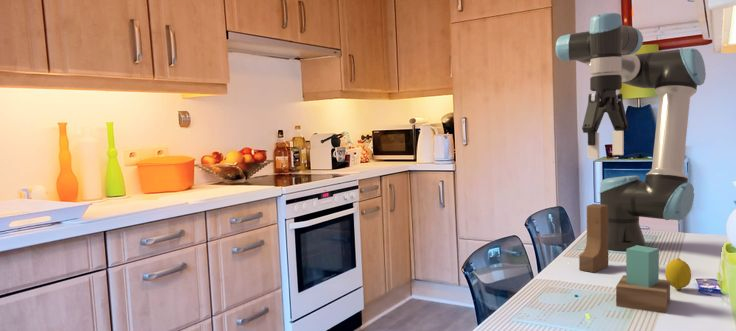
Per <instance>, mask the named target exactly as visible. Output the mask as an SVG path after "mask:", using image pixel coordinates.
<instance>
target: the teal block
mask: <svg viewBox="0 0 736 331" xmlns="http://www.w3.org/2000/svg"><path fill="white" fill-rule="evenodd" d="M625 258H626V259H625V260H626V264H625V265H626V266H625V267H626V268H625V269H626V274H625V275H626V283H630V284H634V285H639V286H643V287H651V286H653V285H655V284H657V283H659V274H660V273H659V271H660V269H659V268H660V265H659V264H660V262H659V261H660V249H659V248H657V247H656V248H655V247H650V246H646V245H645V246H639V245H636V246H633V247H631V248H628V249H627V251H626V257H625Z"/></svg>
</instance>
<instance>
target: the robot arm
mask: <svg viewBox="0 0 736 331" xmlns="http://www.w3.org/2000/svg"><path fill="white" fill-rule="evenodd" d="M643 43H644V37H643V34H642V32H641V31H640V30H639V29H637V28H636V27H633V26H631V25H623V20H622V15H621V13H618V12H617V13H616V12H609V13H607V12H605V13H601V14H595V15H594V16H592V17H591V18H590V21H589V30H587V31H581V32H575V33H569V34H565V35H560V36H559V37H558V38H557V40H556V42H555V54H556V57H557V58H558V59H559V60H560V61H562V62H571V61H577V62H579V63H582V64H585V65H587V66H589V67H588V68H590V71H589V72H590V75H592V76H591V77H590V78H589V80H590V82H589V90H590V91H591V92H595V93H589V94H588V98H587V99H588V100H587V101H588V102H587V106H586V110H585V115H584V120H583V123H582V128H581V130H582V133H585V134H587V137H586V138H587V159H592V160H594V159H597V160H598V159H600V132H598V130H599V128H600V125H601V124H602V120H603V117H604V115H605V113H607V115H608V118H609V120H610V123H611V125H612V128H613V130H612V135H611V136H612V139H611V140H612V143H611V144H612V146H611V148H612V154H611V155H612V156H624V153H625V152H624V149H625V147H624V146H625V145H624V144H625V142H624V141H625V140H624V138H625V136H624V134H625V133H624V131H628V130H629V124H628V119H627V115H626V111H625V106H624V101H623V93H616V92H617V91H619V90H621V89H622V87H623V84H624V85H628V86H632V87H636V88H640V89H654V92H655V93H656V95H657V96H658V105H657V106H658V107H657V116H656V124H655V125H656V126H655V135H654V144H653V152H652V155H653V156H652V164H651V169H650V170H649V172H647V173H645V180H640V176H639V175H624V176H614V177H607V178H604V179H602V180H601V182H600V190H599V199H600V201H599V204H602V205H608V250H609V249H610V250H609V251H619V252H620V251H623V252H625V251H626V252H627V249H628V248H631V247H633V246H636V245H639V246H645V247H646V240H645V236H644V234H643V231H642V228H641V226H640V218H649V219H659V220H665V221H670V220H671V221H674V220H675V221H682V220H683V219H686V217H687V216H688V214H690V212H691V210H692V206H693V204H694V198H695V193H694V191H695V188H694V185H693V184H692V183H690V182H689V181H688V180H689V178H688V176H687V175H686V174H685V173H684V164H685V162H684V161H685V156H686V155H685V154H686V144H687V143H686V142H687V136H688V134H687V133H688V125H689V114H690V113H689V112H690V102H691V98H692V96H693V95H695V94H696V93H697V89H698V86H701V85H703V84H704V83H705V81H706V65H705V61H704V58H703V55H702V53H701V52H700V50H698V49H697V48H694V47H693V48H692V47H689V48H678V49H669V50H663V51H662V50H661V51H653V52H651V51H650V52H644V53H637V52H639V50H640V49H641V48H642V45H643Z"/></svg>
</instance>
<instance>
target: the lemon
mask: <svg viewBox="0 0 736 331" xmlns="http://www.w3.org/2000/svg"><path fill="white" fill-rule="evenodd" d="M664 271H665V272H664V273H665V280H670V287H671V286H672V287H673V288H674V289H675V290H677V291H680V290H681V289H683V288H684V289H685V288H686V287H687V286H689V284H690V282H691V280H692V271H691V267H690V265H689V264H688V263H687V262H686V261H685V260H683V259H681V258H678V257H676V258H675V259H672V260H670V261H669V262H668V263H667V264H666V267H665V270H664Z"/></svg>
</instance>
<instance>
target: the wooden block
mask: <svg viewBox="0 0 736 331" xmlns="http://www.w3.org/2000/svg"><path fill="white" fill-rule="evenodd" d="M578 260H579V261H578V262H579V263H578V264H579V266H578V269H579V271H582V272H583V271H584V272H587V273H597V272H599V271H601V270H604V269H606V268H608V267H609V249H608V205H602V204H600V203H592V204H589V205H586V246H585V247H584V250H583V252H582V253H580V254H579V255H578Z"/></svg>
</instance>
